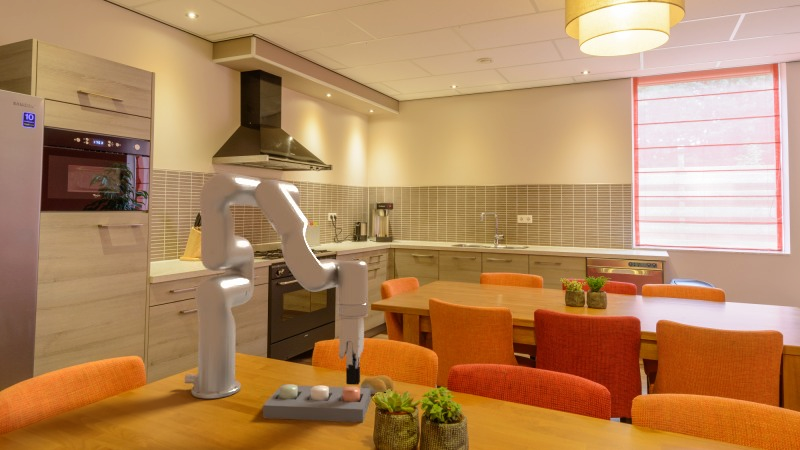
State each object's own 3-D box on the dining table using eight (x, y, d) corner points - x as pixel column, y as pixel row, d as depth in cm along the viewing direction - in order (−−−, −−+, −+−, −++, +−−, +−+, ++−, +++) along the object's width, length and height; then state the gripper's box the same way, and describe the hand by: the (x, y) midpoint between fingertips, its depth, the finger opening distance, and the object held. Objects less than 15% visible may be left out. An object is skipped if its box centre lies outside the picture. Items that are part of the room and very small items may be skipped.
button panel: (262, 417, 110) (263, 405, 110) (281, 396, 124) (281, 384, 124) (362, 422, 109) (363, 409, 109) (370, 399, 123) (370, 388, 123)
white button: (308, 405, 115) (308, 391, 115) (313, 398, 119) (313, 385, 119) (326, 406, 114) (326, 391, 114) (330, 399, 119) (330, 385, 119)
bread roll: (398, 389, 131) (399, 375, 131) (376, 397, 125) (376, 383, 125) (378, 382, 137) (378, 368, 137) (355, 390, 130) (355, 375, 130)
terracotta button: (340, 406, 114) (340, 392, 114) (344, 399, 118) (344, 386, 118) (358, 407, 114) (358, 393, 114) (361, 400, 118) (361, 386, 118)
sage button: (277, 404, 115) (277, 390, 115) (282, 397, 120) (282, 383, 119) (294, 404, 115) (294, 390, 115) (299, 398, 119) (299, 384, 119)
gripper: (343, 304, 124) (343, 373, 124) (331, 315, 109) (332, 393, 109) (371, 305, 123) (371, 374, 123) (363, 316, 108) (363, 394, 108)
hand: (353, 383), depth 116 cm, fingers closed
